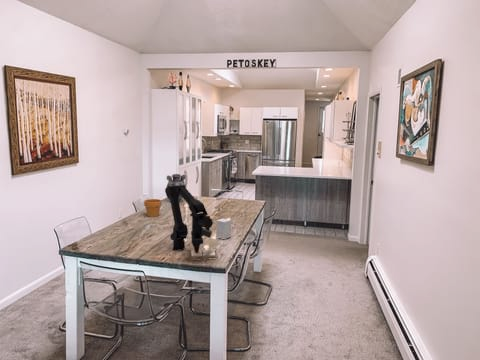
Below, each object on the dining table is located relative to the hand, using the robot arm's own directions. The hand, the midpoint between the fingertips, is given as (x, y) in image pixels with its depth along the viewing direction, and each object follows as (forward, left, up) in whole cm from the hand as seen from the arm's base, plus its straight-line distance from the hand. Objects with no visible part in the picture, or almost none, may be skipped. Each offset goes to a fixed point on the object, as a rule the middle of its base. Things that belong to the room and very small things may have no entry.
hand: (196, 250), depth 204 cm
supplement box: (+20, +34, -4) cm, 39 cm away
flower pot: (-32, +98, -3) cm, 103 cm away
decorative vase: (-14, +154, -3) cm, 155 cm away
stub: (0, 0, -2) cm, 2 cm away
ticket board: (+3, 0, -3) cm, 4 cm away
